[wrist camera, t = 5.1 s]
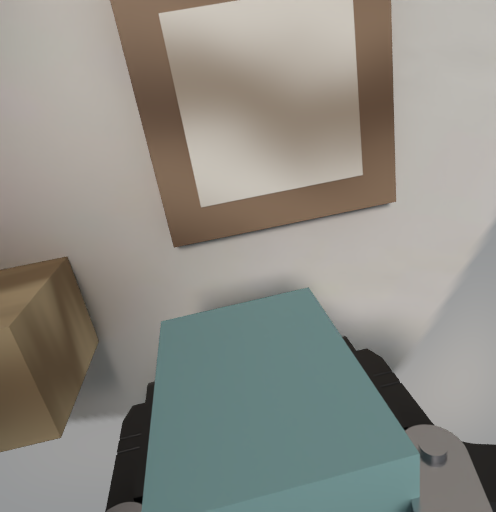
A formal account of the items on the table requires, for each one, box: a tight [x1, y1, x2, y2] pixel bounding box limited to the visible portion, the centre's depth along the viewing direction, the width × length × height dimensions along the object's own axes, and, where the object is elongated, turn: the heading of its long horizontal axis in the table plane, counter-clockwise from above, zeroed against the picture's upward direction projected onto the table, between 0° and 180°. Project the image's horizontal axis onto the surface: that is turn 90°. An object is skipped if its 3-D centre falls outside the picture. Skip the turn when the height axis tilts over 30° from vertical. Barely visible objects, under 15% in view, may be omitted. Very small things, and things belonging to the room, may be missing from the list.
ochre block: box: [0, 257, 99, 452], centre depth 15 cm, size 4×4×6 cm
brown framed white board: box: [110, 0, 396, 247], centre depth 15 cm, size 10×10×1 cm
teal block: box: [141, 287, 420, 512], centre depth 10 cm, size 4×4×6 cm
